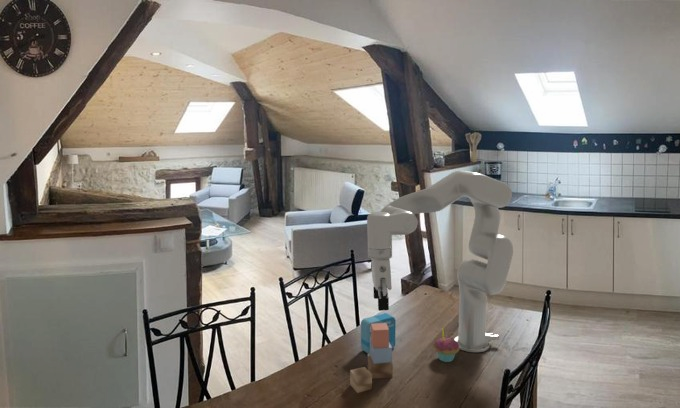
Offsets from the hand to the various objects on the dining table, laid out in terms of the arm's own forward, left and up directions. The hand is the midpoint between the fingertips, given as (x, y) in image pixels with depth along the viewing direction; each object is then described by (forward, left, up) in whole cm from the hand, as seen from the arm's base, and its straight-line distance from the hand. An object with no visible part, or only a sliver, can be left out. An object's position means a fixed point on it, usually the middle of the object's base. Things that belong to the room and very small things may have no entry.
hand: (381, 303), depth 157 cm
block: (+7, +8, -24) cm, 26 cm away
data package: (-2, -16, -24) cm, 28 cm away
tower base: (0, 0, -24) cm, 24 cm away
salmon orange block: (0, 0, -14) cm, 14 cm away
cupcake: (-24, -7, -24) cm, 34 cm away
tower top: (0, 0, -19) cm, 19 cm away
